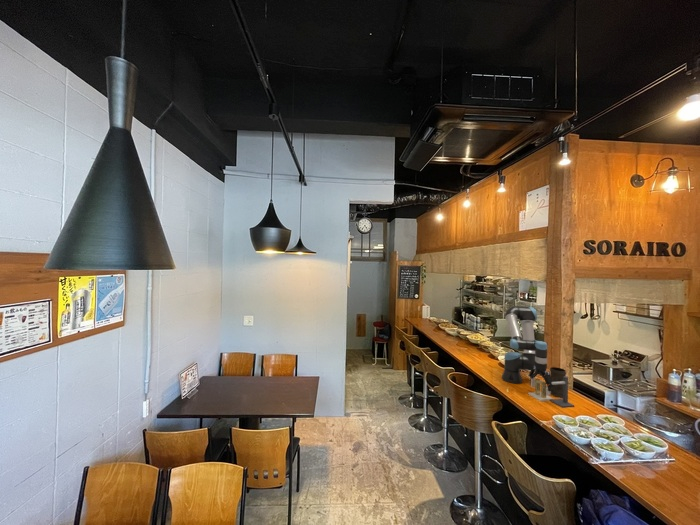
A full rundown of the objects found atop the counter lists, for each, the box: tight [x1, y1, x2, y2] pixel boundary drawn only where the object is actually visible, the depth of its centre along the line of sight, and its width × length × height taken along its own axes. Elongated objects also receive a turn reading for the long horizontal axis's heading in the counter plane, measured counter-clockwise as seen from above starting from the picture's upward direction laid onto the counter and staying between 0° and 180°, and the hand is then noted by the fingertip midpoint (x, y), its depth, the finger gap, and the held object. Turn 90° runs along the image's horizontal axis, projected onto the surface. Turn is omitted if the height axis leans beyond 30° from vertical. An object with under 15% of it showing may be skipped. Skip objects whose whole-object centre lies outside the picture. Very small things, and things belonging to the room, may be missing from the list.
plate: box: [527, 391, 554, 402], centre depth 213 cm, size 11×11×1 cm
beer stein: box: [549, 366, 567, 399], centre depth 220 cm, size 15×11×20 cm
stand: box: [549, 375, 575, 409], centre depth 203 cm, size 10×13×19 cm
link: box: [534, 378, 547, 398], centre depth 213 cm, size 7×3×11 cm, turn 11°
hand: (540, 390), depth 213 cm, fingers open, 13 cm apart
